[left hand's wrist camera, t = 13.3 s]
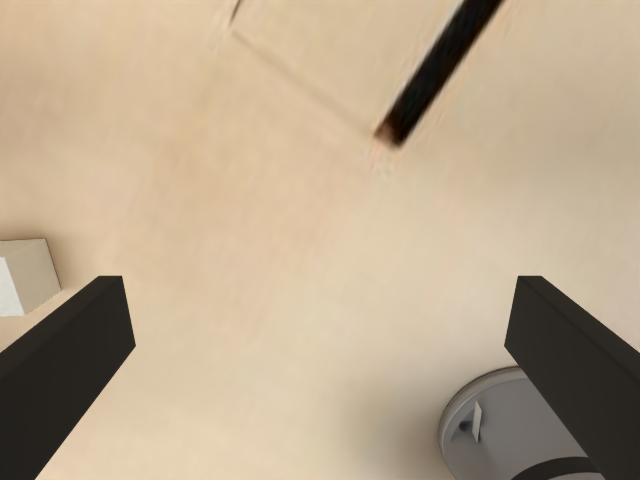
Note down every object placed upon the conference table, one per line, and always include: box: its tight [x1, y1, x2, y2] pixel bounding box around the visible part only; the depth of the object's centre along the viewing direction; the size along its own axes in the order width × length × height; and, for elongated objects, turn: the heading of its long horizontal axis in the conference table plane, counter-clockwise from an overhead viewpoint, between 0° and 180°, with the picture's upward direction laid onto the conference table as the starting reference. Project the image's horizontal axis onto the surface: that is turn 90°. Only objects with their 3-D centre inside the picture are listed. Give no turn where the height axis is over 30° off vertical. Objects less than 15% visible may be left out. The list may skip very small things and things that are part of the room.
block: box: [0, 239, 61, 317], centre depth 32 cm, size 5×5×4 cm
